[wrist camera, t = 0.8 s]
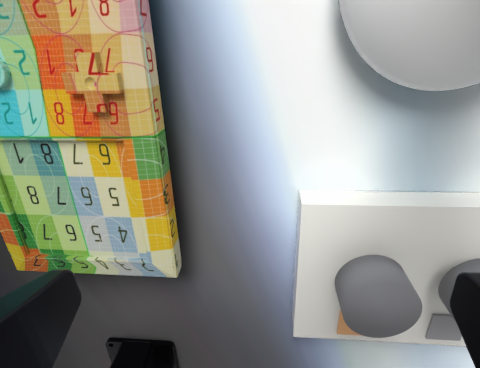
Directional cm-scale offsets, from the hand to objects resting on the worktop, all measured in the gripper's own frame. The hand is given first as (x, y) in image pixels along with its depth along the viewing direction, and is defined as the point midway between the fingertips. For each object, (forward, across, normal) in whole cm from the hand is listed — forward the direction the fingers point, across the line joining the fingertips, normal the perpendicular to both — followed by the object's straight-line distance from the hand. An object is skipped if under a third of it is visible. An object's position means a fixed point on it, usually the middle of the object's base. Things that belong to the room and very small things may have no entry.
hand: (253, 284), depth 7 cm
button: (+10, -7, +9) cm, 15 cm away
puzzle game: (+14, +12, -1) cm, 18 cm away
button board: (+14, -13, +11) cm, 22 cm away
